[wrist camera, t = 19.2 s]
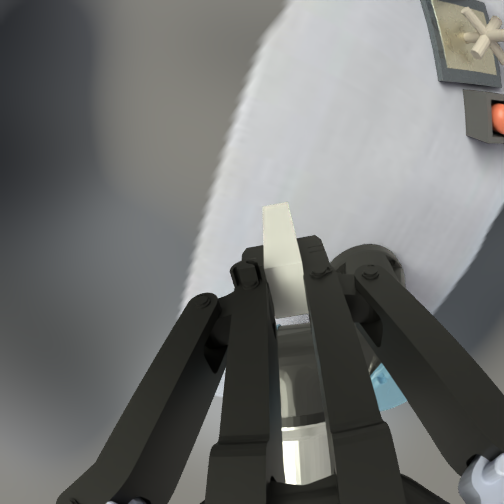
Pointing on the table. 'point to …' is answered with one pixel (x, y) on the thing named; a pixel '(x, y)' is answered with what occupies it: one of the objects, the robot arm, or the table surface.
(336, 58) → the table surface
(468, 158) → the table surface
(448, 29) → the press frame
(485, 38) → the pipe connector
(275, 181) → the table surface
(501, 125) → the press button
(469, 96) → the button housing
